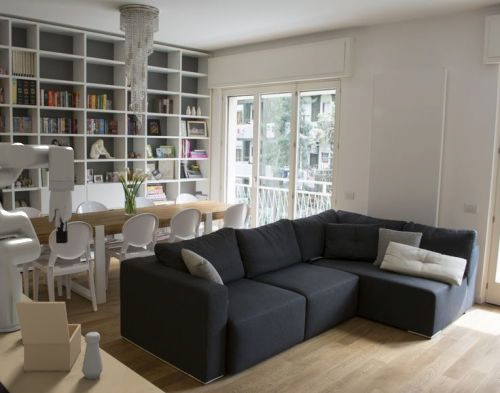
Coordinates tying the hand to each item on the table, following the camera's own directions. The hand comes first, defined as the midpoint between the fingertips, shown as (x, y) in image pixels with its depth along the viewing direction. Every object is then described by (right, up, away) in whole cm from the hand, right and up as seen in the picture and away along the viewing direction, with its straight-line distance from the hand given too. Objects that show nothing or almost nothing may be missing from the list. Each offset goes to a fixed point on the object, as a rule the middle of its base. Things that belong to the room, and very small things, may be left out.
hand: (61, 242), depth 156 cm
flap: (+1, -21, -17) cm, 27 cm away
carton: (0, -36, -5) cm, 36 cm away
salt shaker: (+14, -38, -14) cm, 43 cm away
